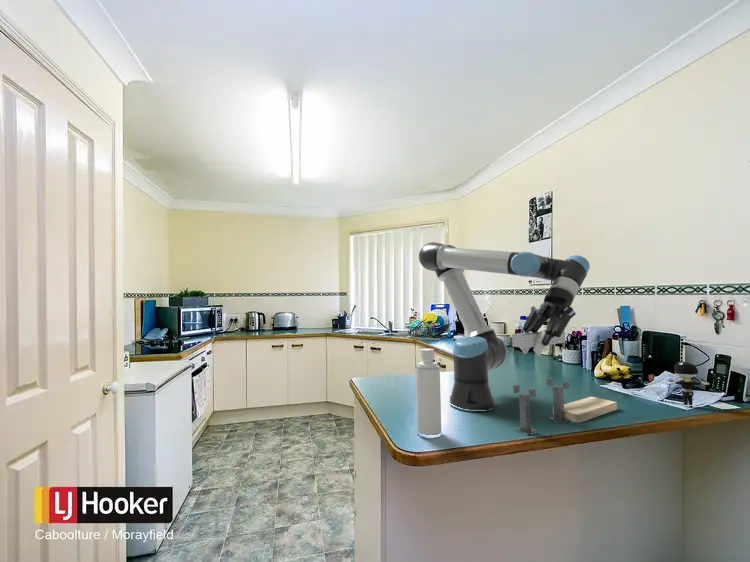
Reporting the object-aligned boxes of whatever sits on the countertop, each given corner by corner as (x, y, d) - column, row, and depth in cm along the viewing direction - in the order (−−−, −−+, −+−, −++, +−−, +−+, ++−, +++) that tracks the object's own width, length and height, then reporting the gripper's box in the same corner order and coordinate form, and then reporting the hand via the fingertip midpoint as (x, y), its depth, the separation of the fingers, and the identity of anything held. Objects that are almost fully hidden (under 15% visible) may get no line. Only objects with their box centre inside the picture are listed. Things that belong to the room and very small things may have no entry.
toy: (701, 404, 117) (698, 360, 117) (717, 409, 111) (714, 363, 111) (659, 403, 118) (657, 360, 119) (673, 409, 112) (670, 363, 113)
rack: (512, 429, 96) (510, 386, 97) (554, 416, 106) (552, 377, 107) (530, 436, 91) (528, 390, 92) (572, 422, 101) (570, 380, 102)
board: (552, 415, 108) (552, 407, 108) (591, 403, 119) (591, 396, 119) (578, 422, 101) (578, 414, 101) (617, 409, 112) (616, 402, 112)
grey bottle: (423, 427, 98) (421, 341, 100) (445, 432, 95) (443, 343, 96) (412, 435, 93) (411, 344, 94) (435, 441, 89) (433, 345, 91)
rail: (512, 346, 97) (512, 334, 97) (554, 341, 107) (553, 330, 107) (523, 347, 94) (522, 335, 94) (565, 342, 104) (564, 331, 104)
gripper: (593, 303, 101) (563, 364, 92) (542, 302, 115) (511, 356, 106) (583, 285, 98) (551, 346, 89) (531, 287, 113) (499, 340, 103)
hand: (529, 351), depth 98 cm, fingers closed on rail, 3 cm apart
